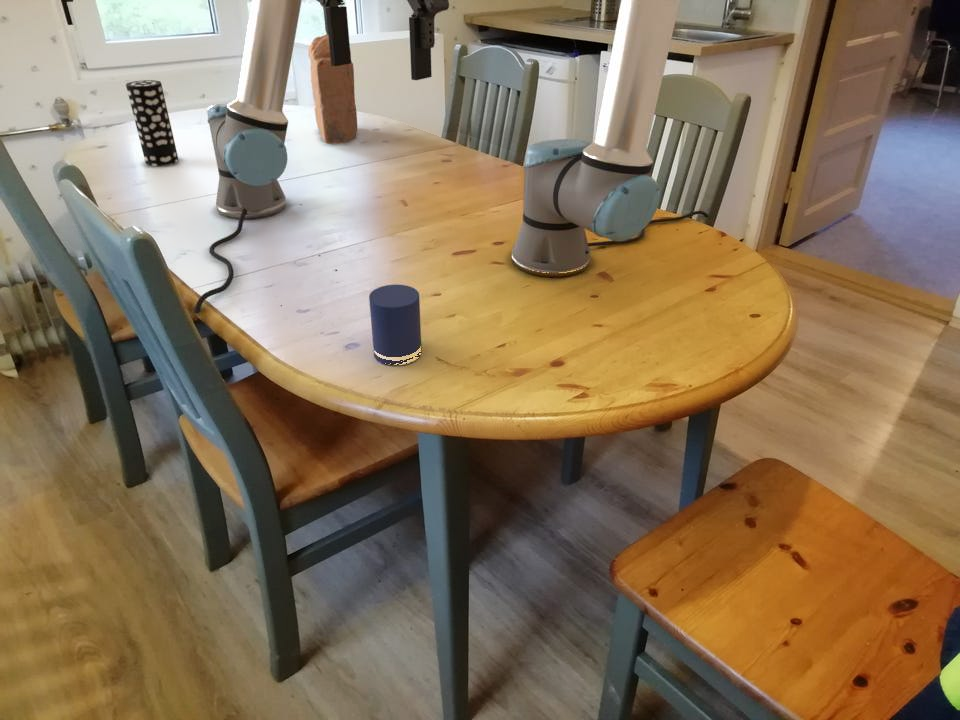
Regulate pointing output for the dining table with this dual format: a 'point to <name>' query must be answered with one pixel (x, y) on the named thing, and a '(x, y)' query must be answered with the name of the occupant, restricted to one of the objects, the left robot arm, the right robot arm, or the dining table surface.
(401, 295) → the can
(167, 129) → the black white spotted cylinder
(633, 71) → the right robot arm
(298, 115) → the dining table surface
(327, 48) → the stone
